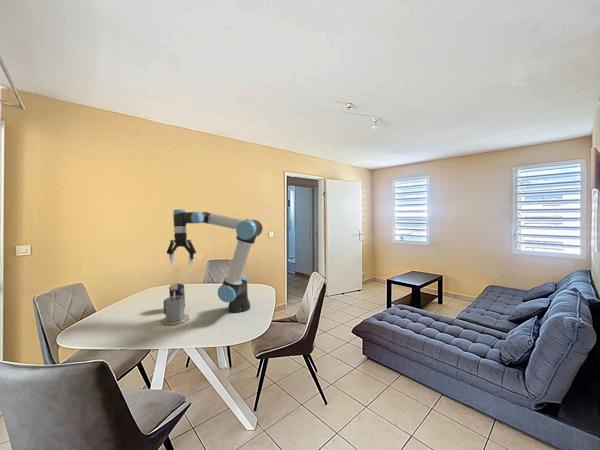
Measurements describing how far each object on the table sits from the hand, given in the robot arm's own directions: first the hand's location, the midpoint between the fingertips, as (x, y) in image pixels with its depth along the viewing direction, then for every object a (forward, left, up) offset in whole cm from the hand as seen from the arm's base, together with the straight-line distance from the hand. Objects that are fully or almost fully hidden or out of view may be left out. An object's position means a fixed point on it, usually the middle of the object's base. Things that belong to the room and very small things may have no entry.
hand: (181, 264), depth 167 cm
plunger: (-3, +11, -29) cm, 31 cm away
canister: (+9, -6, -34) cm, 35 cm away
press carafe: (-3, +11, -33) cm, 35 cm away
